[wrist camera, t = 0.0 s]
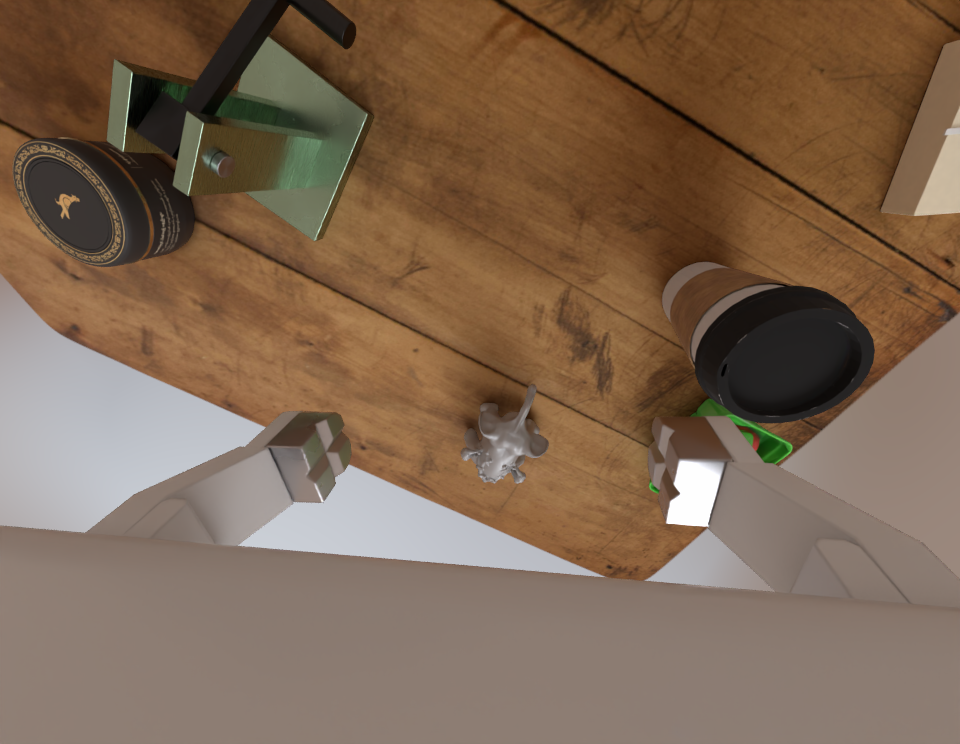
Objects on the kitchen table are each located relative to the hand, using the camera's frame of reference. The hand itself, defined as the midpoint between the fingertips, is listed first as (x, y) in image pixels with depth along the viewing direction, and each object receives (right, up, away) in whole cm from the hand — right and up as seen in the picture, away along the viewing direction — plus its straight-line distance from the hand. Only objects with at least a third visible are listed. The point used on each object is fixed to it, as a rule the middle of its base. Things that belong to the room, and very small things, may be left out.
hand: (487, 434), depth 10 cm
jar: (-33, +19, +27) cm, 47 cm away
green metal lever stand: (-16, +22, +23) cm, 35 cm away
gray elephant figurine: (+3, -3, +33) cm, 33 cm away
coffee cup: (+19, +9, +24) cm, 32 cm away
